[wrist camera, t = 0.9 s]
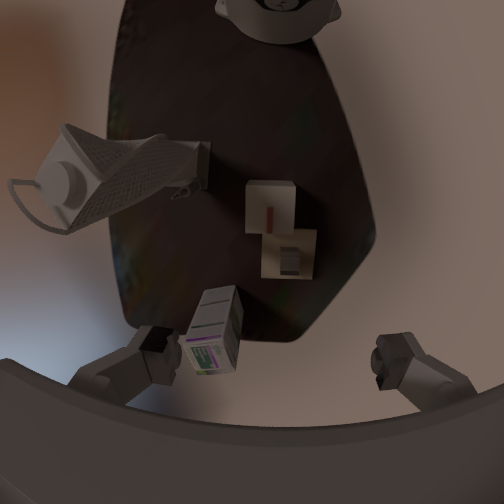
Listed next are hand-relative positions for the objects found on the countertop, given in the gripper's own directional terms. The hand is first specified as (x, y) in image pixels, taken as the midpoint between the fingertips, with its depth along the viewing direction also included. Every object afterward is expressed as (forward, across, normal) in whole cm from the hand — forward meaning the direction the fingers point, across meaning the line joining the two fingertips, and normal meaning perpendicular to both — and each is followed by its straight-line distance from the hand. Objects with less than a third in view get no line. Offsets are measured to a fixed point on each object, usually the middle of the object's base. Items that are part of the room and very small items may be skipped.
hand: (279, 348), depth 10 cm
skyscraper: (+31, +14, -6) cm, 34 cm away
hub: (+31, -2, +8) cm, 32 cm away
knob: (+30, 0, 0) cm, 31 cm away
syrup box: (+31, +8, +17) cm, 36 cm away
